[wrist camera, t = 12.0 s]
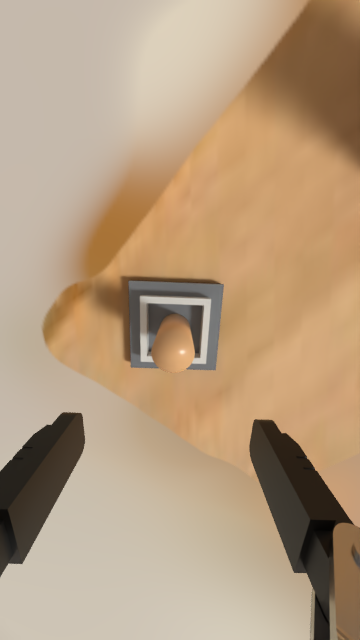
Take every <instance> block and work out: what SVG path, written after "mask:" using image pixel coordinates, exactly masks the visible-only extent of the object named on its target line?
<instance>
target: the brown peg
mask: <svg viewBox="0 0 360 640" xmlns="http://www.w3.org/2000/svg"><path fill="white" fill-rule="evenodd" d="M151 355H152V359H153V361H154V363H155V364H156V366H157V367H159V368H160V369H161V370H163V371H166V372H170V373H177V372H181V371H183V370H185V369H187V368H188V367H189V366H190V365H191V363H192V362H193V360H194V356H195V350H194V344H193V339H192V334H191V329H190V324H189V322H188V320H187V319H186V318H185V317H184V316H182V315H180V314H170V315H168V316H166V317H165V318H164V319H163V320H162V322H161V325H160V327H159V330H158V333H157V335H156V338H155V341H154V343H153V346H152V350H151Z"/></svg>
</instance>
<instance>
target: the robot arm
mask: <svg viewBox="0 0 360 640" xmlns="http://www.w3.org/2000/svg"><path fill="white" fill-rule="evenodd" d="M84 444H85V436H84V427H83V417H82V414H81V413H67V412H66V413H65V412H64V413H62V414H61V415H60V416H59V417H58V418H57V419H56V420H55V421H54V423H53V424H52V425H46V426H45V427H44V428H42V429H41V430H39V431H38V432H37V433H35V434H34V435H33V436H32V437H31V438H30V439H29V440H28V441H27V442H26V444H25V445H24V446H23V448H22V449H20V450H19V451H18V452H17V454H16V455H15V456H14V457H13V459H12V460H10V461H9V462H8V463H7V465H6V466H5V467H4V468H3V469H2V470H1V471H0V576H1V575H2V573H3V571H4V570H5V568H6V566H7V565H8V563H12V564H22V563H23V561H24V560H25V558H26V556H27V554H28V552H29V551H30V549H31V547H32V545H33V543H34V541H35V539H36V538H37V536H38V534H39V532H40V530H41V528H42V527H43V524H44V523H45V521H46V519H47V517H48V515H49V513H50V512H51V510H52V508H53V506H54V504H55V502H56V501H57V499H58V497H59V495H60V493H61V491H62V490H63V488H64V486H65V484H66V482H67V480H68V479H69V477H70V474H71V473H72V471H73V469H74V467H75V466H76V464H77V462H78V460H79V458H80V456H81V454H82V452H83V449H84ZM250 457H251V460H252V463H253V466H254V469H255V471H256V474H257V477H258V479H259V482H260V484H261V487H262V489H263V492H264V495H265V497H266V500H267V503H268V505H269V508H270V511H271V513H272V516H273V518H274V521H275V524H276V526H277V529H278V532H279V534H280V537H281V539H282V542H283V545H284V547H285V550H286V553H287V555H288V558H289V560H290V563H291V566H292V569H293V571H294V573H307V575H308V577H309V579H310V582H311V584H312V587H313V589H312V599H311V623H310V624H311V625H310V640H360V528H359V527H357V526H355V525H354V524H353V523H352V521H351V520H350V519H349V517H348V516H347V514H346V513H345V511H344V510H343V508H342V507H341V505H340V504H339V503H338V501H337V500H336V498H335V497H334V495H333V494H332V492H331V491H330V490H329V488H328V487H327V485H326V484H325V482H324V481H323V479H322V478H321V476H320V475H319V474H318V472H317V471H315V468H314V466H313V465H312V463H311V462H310V461H309V459H307V456H306V455H305V453H304V452H303V450H302V449H301V447H300V446H299V445H298V443H296V442H295V441H294V440H293V439H292V438H291V437H290V436H289V435H287V434H286V433H281V432H280V430H279V429H278V427H277V426H276V424H275V423H274V421H272V420H257V419H256V420H254V422H253V428H252V434H251V440H250Z"/></svg>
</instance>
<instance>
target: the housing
mask: <svg viewBox="0 0 360 640" xmlns="http://www.w3.org/2000/svg"><path fill="white" fill-rule="evenodd" d="M223 287H224V285H223V284H208V283H183V282H159V281H134V280H130V281H129V315H130V352H131V367H135V368H159V367H157V366H156V364H155V363H154V361H153V359H152V355H151V350H152V346H153V343H154V341H155V338H156V335H157V333H158V330H159V327H160V325H161V322H162V320H163V319H164V318H165V317H166V316H168V315H170V314H180V315H182V316H184V317H185V318H186V319H187V320H188V322H189V324H190V329H191V334H192V339H193V344H194V350H195V356H194V360H193V362H192V363H191V365H190V366H189V367H188V368H187V369H193V370H216V360H217V350H218V339H219V329H220V318H221V308H222V298H223Z"/></svg>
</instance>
